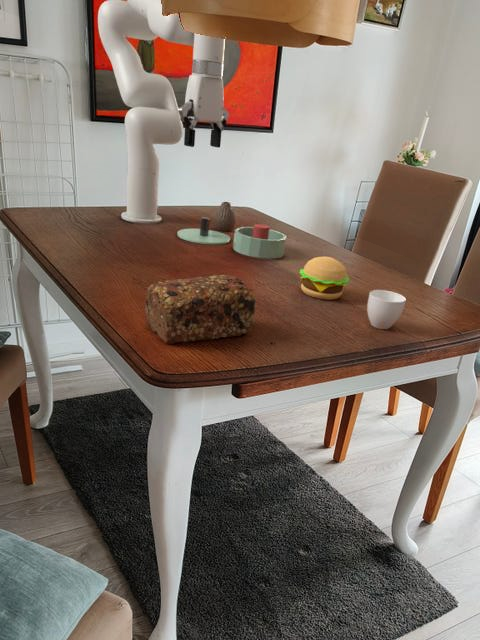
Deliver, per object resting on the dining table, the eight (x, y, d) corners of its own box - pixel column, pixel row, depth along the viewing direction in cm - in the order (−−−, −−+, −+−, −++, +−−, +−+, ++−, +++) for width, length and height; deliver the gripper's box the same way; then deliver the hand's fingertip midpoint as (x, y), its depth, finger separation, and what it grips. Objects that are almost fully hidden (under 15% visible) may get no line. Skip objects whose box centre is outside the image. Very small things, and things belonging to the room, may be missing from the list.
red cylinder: (252, 248, 169) (255, 223, 166) (267, 250, 169) (270, 226, 165) (249, 251, 166) (252, 226, 162) (264, 254, 165) (268, 228, 162)
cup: (374, 332, 123) (382, 302, 119) (351, 315, 130) (357, 286, 127) (404, 332, 125) (413, 302, 122) (380, 315, 133) (387, 286, 130)
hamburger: (355, 300, 140) (363, 264, 136) (317, 304, 134) (324, 267, 130) (324, 284, 149) (331, 250, 144) (286, 287, 143) (292, 251, 138)
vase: (211, 232, 182) (214, 203, 177) (213, 227, 188) (216, 199, 183) (233, 235, 182) (236, 206, 178) (234, 230, 188) (237, 201, 184)
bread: (227, 317, 120) (233, 269, 115) (253, 337, 112) (260, 287, 107) (142, 324, 111) (144, 272, 106) (164, 346, 104) (167, 292, 98)
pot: (239, 243, 175) (241, 224, 172) (286, 251, 173) (289, 232, 170) (227, 254, 162) (230, 234, 159) (278, 263, 160) (282, 243, 158)
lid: (185, 229, 181) (187, 209, 178) (235, 238, 179) (237, 217, 176) (169, 240, 167) (171, 218, 164) (222, 250, 165) (225, 227, 162)
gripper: (220, 73, 152) (214, 145, 160) (171, 65, 140) (168, 143, 149) (241, 75, 148) (234, 149, 156) (193, 67, 136) (188, 148, 145)
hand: (202, 146), depth 153 cm, fingers open, 9 cm apart
